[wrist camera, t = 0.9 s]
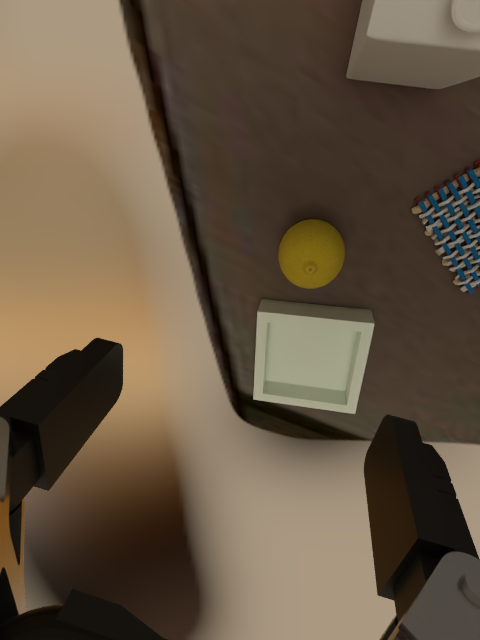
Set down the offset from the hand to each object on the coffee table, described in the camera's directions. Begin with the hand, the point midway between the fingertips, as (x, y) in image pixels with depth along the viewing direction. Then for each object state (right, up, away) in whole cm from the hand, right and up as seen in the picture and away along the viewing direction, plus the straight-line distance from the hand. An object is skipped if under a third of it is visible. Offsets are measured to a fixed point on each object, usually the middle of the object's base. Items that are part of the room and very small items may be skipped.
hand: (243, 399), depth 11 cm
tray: (+7, -1, +29) cm, 30 cm away
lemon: (+7, +10, +24) cm, 27 cm away
